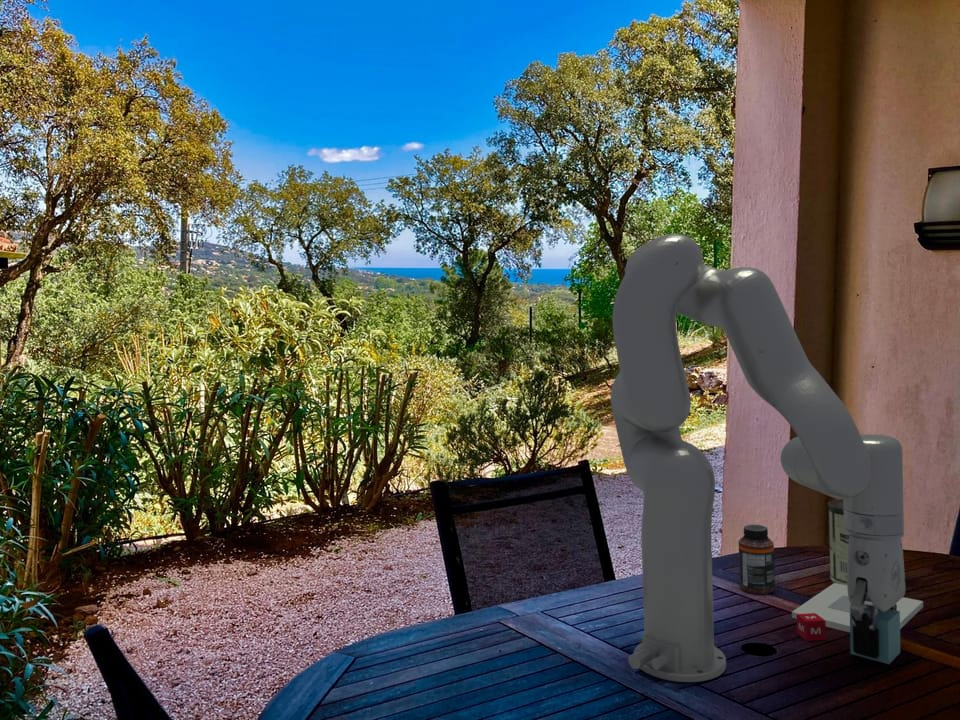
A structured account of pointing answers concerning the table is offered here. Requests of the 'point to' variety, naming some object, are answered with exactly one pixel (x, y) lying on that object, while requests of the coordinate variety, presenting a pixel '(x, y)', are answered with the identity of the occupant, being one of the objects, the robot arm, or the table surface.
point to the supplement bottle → (756, 560)
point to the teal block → (884, 635)
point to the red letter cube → (811, 627)
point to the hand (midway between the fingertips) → (875, 645)
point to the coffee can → (838, 542)
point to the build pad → (848, 607)
